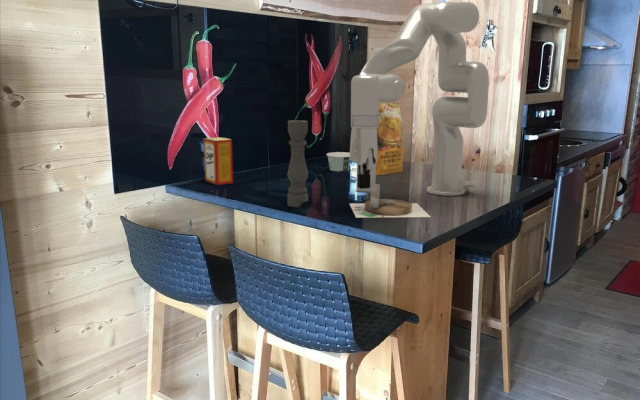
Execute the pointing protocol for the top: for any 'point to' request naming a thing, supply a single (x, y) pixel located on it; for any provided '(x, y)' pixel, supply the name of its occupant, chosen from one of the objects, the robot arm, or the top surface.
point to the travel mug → (372, 181)
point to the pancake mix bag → (389, 139)
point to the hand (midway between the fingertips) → (363, 187)
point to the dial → (386, 204)
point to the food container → (339, 161)
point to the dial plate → (362, 213)
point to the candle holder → (297, 163)
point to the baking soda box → (218, 160)
